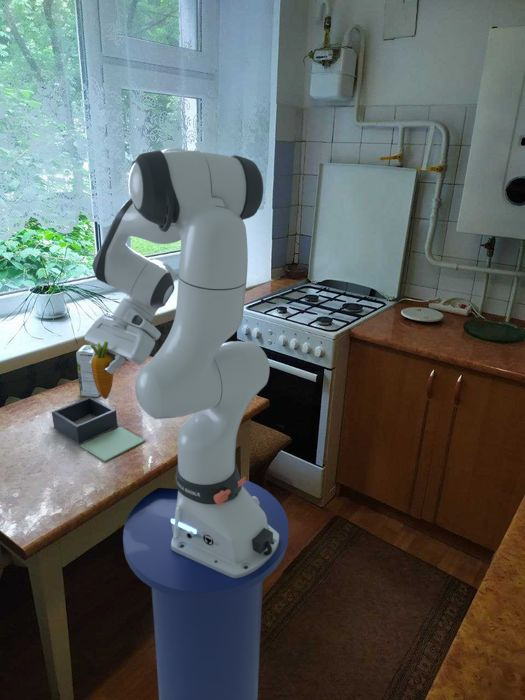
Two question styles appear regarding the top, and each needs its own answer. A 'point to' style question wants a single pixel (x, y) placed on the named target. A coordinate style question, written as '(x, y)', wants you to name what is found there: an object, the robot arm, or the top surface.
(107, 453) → the mat
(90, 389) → the syrup box
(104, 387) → the carrot
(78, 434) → the crate
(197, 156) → the robot arm
